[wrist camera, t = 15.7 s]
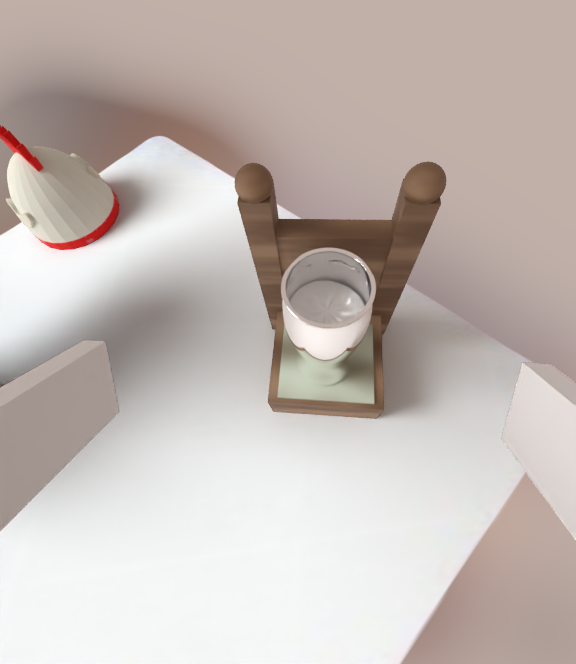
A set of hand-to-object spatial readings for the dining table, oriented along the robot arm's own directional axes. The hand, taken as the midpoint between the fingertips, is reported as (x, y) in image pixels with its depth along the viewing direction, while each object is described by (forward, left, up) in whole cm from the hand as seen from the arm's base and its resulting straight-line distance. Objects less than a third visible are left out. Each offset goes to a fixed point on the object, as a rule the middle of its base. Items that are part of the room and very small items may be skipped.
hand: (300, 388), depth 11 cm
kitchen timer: (-18, +50, -30) cm, 61 cm away
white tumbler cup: (+6, +8, -25) cm, 26 cm away
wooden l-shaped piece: (+7, +9, -30) cm, 32 cm away
